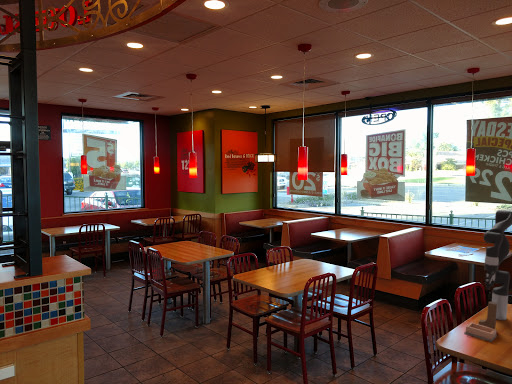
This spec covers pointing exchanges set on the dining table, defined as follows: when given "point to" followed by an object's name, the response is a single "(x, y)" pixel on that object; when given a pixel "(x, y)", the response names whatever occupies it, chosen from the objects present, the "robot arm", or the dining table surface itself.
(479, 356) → the dining table surface
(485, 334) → the block holder
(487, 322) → the wooden block
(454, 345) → the dining table surface
